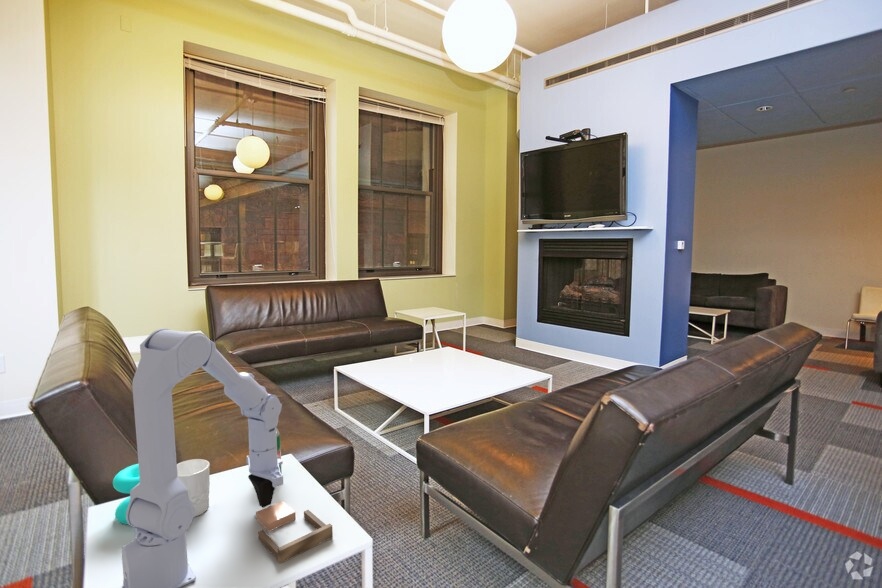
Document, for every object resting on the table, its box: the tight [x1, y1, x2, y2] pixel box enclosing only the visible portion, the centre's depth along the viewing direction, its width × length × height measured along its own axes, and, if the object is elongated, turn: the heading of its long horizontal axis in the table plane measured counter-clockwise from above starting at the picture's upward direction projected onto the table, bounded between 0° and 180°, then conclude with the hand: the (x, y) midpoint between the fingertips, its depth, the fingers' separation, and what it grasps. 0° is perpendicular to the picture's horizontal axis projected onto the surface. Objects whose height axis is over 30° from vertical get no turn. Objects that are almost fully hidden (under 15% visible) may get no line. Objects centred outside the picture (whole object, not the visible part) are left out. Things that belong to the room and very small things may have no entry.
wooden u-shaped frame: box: [257, 509, 334, 564], centre depth 92 cm, size 11×10×2 cm
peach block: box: [255, 500, 297, 532], centre depth 99 cm, size 6×6×2 cm
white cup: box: [177, 458, 210, 518], centre depth 101 cm, size 8×8×10 cm
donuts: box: [112, 463, 140, 525], centre depth 100 cm, size 10×10×10 cm
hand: (265, 504), depth 102 cm, fingers closed
